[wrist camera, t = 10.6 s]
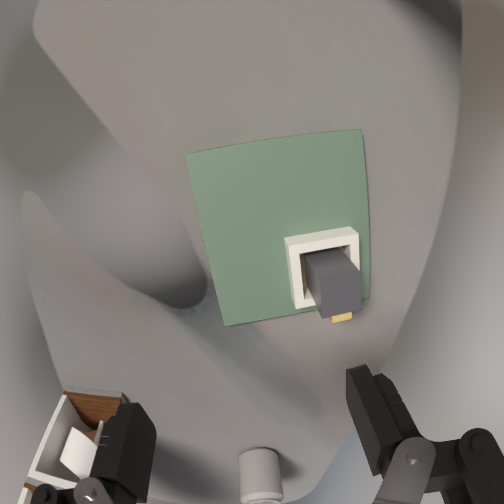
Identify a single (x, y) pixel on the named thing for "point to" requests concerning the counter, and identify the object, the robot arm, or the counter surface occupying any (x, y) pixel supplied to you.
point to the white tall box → (71, 439)
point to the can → (260, 477)
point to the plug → (333, 283)
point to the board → (279, 217)
